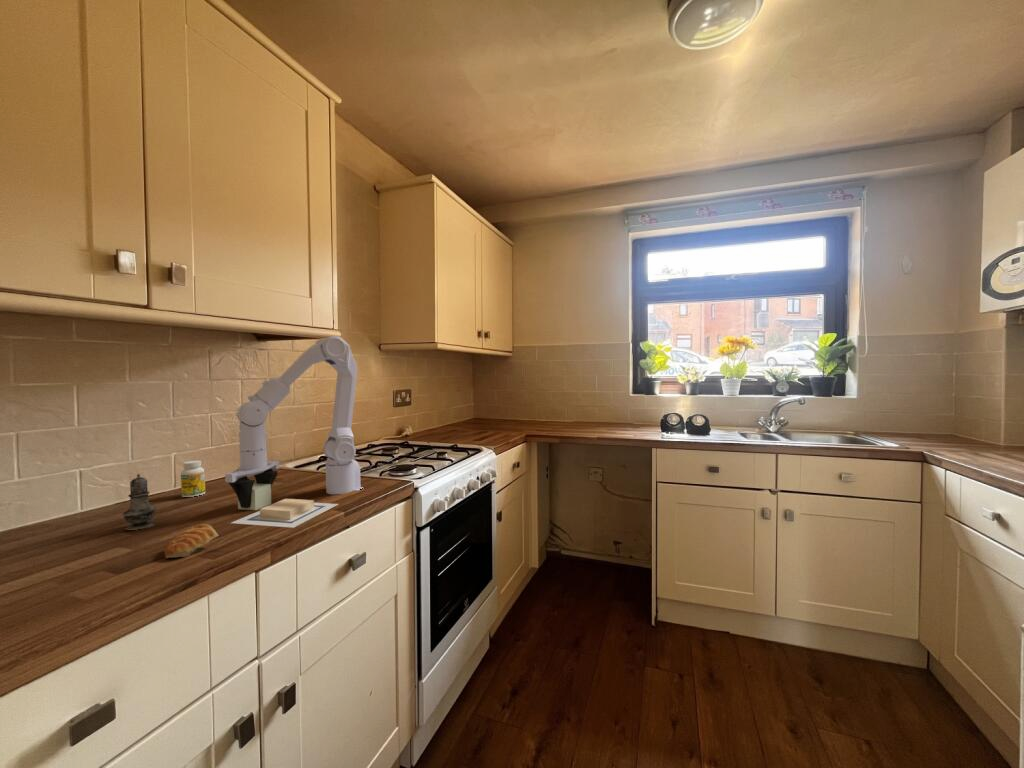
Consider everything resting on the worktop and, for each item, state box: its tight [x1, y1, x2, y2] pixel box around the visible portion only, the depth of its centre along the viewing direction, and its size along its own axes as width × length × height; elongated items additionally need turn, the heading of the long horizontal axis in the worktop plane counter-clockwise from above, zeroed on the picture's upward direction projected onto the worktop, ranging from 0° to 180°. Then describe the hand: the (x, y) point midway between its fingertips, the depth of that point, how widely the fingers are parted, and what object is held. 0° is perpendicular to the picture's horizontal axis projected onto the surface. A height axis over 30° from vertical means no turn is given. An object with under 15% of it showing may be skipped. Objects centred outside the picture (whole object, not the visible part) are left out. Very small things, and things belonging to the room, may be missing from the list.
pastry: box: [164, 523, 219, 559], centre depth 80 cm, size 9×7×4 cm
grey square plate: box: [230, 502, 339, 529], centre depth 98 cm, size 16×16×1 cm
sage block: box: [237, 482, 272, 511], centre depth 103 cm, size 5×5×6 cm
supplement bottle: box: [180, 460, 206, 498], centre depth 117 cm, size 5×5×10 cm
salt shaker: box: [121, 473, 158, 530], centre depth 93 cm, size 6×6×12 cm
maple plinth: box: [259, 498, 315, 520], centre depth 98 cm, size 8×8×2 cm
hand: (254, 503), depth 103 cm, fingers closed on sage block, 5 cm apart
